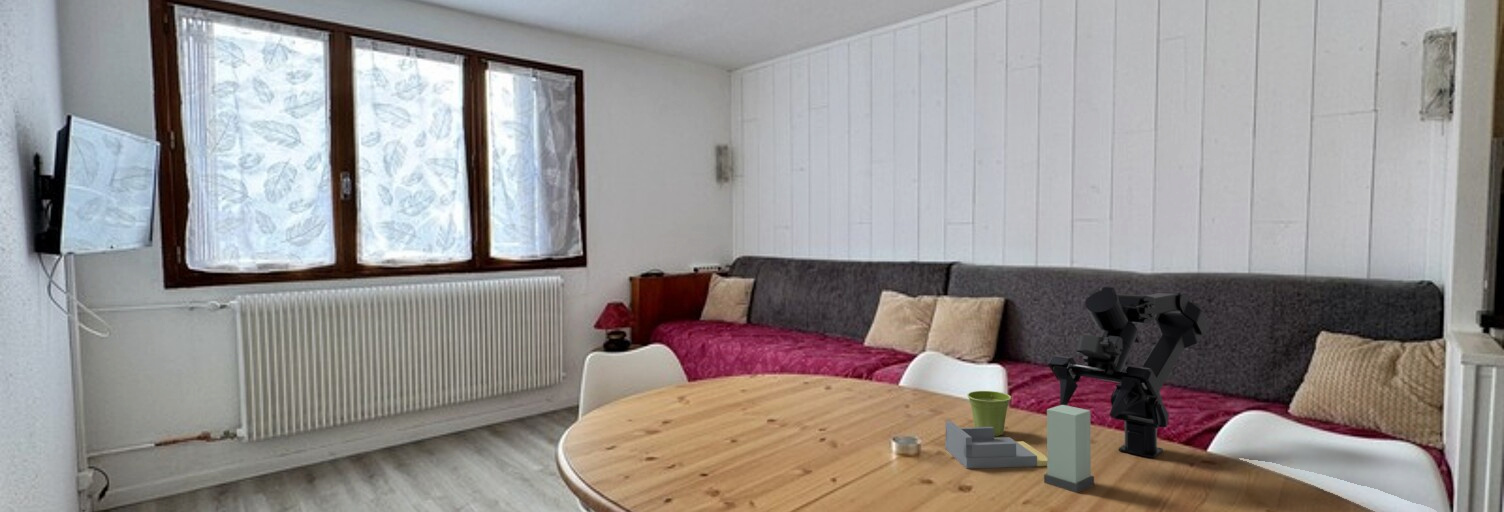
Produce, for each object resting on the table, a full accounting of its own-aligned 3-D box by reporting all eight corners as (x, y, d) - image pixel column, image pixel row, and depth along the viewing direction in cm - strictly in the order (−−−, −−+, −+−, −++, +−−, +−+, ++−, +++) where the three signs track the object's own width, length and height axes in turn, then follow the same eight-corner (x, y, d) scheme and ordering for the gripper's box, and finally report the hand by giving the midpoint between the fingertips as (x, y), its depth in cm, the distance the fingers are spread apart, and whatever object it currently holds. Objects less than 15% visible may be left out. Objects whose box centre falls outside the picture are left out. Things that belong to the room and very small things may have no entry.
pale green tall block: (1061, 475, 120) (1061, 403, 120) (1094, 484, 115) (1093, 410, 115) (1044, 482, 117) (1043, 409, 116) (1076, 492, 112) (1076, 416, 112)
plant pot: (1015, 440, 141) (1014, 401, 141) (970, 438, 143) (970, 399, 143) (1007, 428, 150) (1006, 391, 150) (965, 426, 152) (964, 390, 152)
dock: (1023, 446, 137) (1023, 418, 137) (1052, 465, 125) (1051, 435, 125) (945, 448, 137) (945, 420, 136) (966, 468, 125) (966, 438, 124)
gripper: (1052, 315, 130) (1022, 376, 124) (1153, 324, 115) (1124, 394, 108) (1073, 349, 134) (1044, 410, 128) (1172, 362, 119) (1145, 432, 113)
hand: (1085, 411), depth 119 cm, fingers open, 9 cm apart
